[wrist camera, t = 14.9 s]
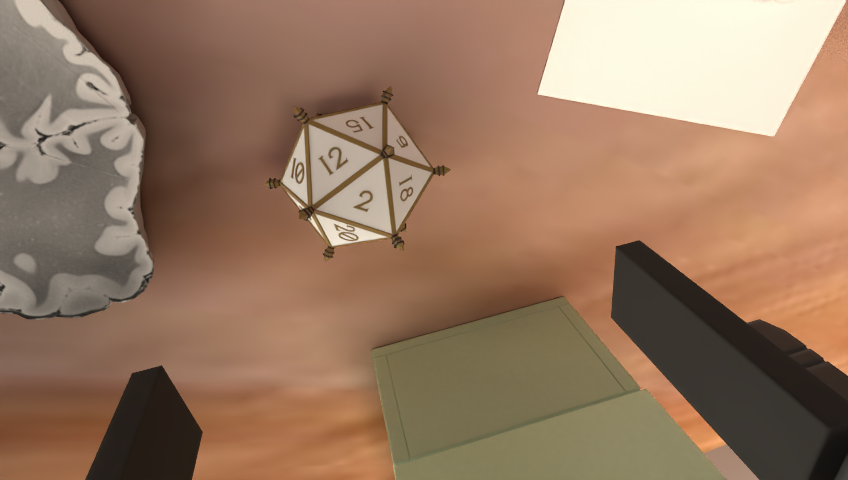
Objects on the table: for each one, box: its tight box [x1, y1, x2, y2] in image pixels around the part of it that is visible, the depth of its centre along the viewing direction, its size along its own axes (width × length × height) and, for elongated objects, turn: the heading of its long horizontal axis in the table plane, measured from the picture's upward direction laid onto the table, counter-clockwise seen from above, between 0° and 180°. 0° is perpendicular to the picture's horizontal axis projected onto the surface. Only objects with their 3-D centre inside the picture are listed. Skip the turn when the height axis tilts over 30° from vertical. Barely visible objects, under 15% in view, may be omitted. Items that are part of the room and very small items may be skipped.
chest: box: [371, 297, 640, 467], centre depth 37 cm, size 17×16×10 cm
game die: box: [263, 86, 451, 262], centre depth 25 cm, size 9×8×10 cm
